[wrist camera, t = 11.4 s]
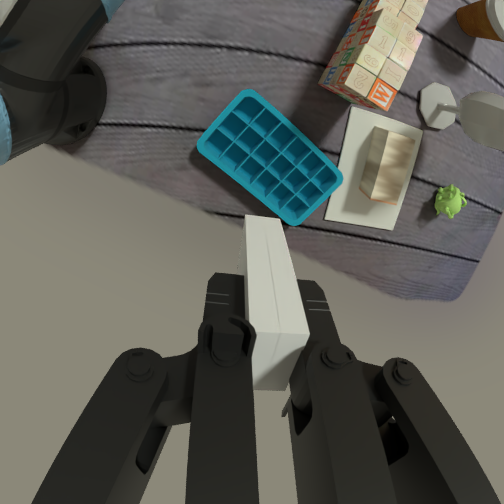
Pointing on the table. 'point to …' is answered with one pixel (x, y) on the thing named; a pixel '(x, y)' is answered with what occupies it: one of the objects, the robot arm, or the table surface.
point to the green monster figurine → (449, 200)
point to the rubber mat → (352, 166)
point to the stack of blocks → (375, 52)
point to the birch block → (386, 166)
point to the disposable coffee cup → (483, 19)
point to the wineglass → (465, 113)
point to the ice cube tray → (270, 157)
